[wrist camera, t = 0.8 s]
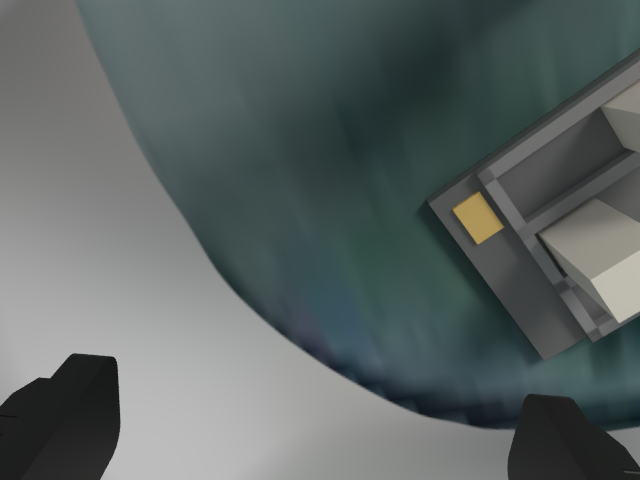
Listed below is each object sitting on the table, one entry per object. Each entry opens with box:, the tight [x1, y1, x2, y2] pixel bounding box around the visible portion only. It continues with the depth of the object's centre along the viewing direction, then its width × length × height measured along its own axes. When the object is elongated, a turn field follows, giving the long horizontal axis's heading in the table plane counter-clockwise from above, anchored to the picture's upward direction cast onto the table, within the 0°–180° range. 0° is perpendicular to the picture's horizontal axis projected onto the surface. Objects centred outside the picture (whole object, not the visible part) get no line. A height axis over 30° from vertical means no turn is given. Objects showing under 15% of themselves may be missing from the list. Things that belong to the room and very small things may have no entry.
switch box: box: [426, 48, 640, 361], centre depth 33 cm, size 20×15×2 cm
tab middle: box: [537, 196, 640, 323], centre depth 30 cm, size 4×3×8 cm
